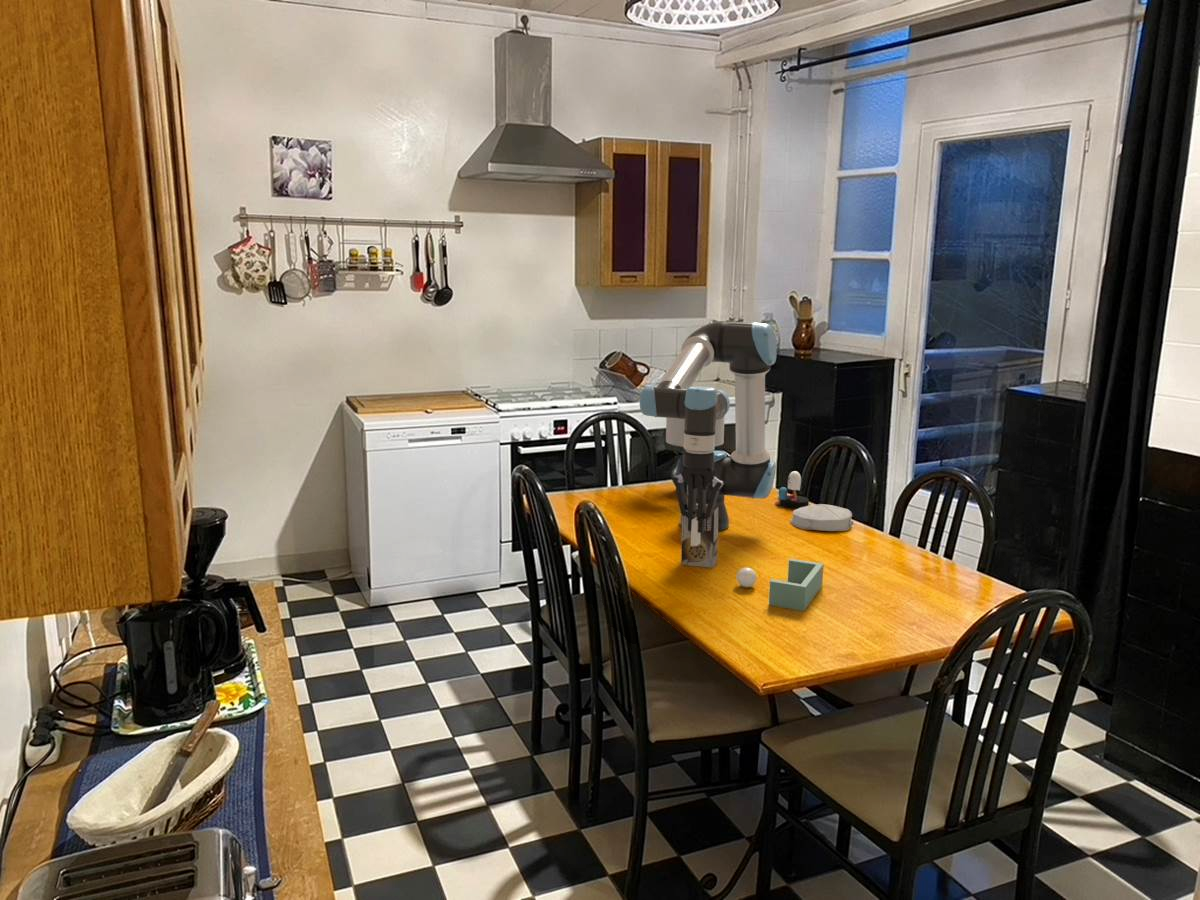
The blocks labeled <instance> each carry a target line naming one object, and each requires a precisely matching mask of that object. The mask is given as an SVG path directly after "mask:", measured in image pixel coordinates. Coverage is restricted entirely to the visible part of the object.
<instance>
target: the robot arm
mask: <svg viewBox="0 0 1200 900" xmlns="http://www.w3.org/2000/svg"><path fill="white" fill-rule="evenodd" d="M680 351H681V352H680V354H679V355H678V356H677V358H676V359H675V360H674V362H673V364H672V365H671V366H670V368H669V369H668V370H667V372H666V373H665V375H664V376H663V377H662V379H661V380H660V382H659V384H658V385H657V386H656V387H655V386H646V387H644V388H642V391H641V392H640V396H639V410H640V412H641V413H642V414H643V415H644V416H648V417H654V418H665V419H666V418H680V419H685V423H684V447H683V449H684V451H683V453H682V455H683V469H682V471H681V474H679V475H677V476H676V475H675V476H673V477H671V481H672V483H673V484H674V487H675V491H676V496H677V502H678V505H679V511H680V522H679V523H680V526H681V527H682V516H686V517H687V518H688V531H691V546H697V545H699V544H700V535H701V533H702V532H703V531H704V525H705V519H708V518H710V517H711V516H712V515H713V512H714V508H715V505H719V523H718V532H720V531H721V532H722V531H725V530H727V529H729V528H730V517H729V514H728V511H727V507H726V504H725V496H731V497H738V498H739V497H740V498H747V499H753V500H755V499H761V500H762V499H763V500H764V499H767V498H768V497H769V496H770V494H771V491H772V488H773V486H774V481H775V476H776V471H777V465H776V463H777V462H776V461H773V460H771V454H770V452H769V451H767V450H766V432H765V431H766V374H767V373H769V371H770V370H771V366H772V365H774V364H775V363H776V361H777V355H778V354H777V351H778V347H777V338H776V333H775V330H774V329H773V327H772V326H771V325H770V324H768V323H761V322H756V321H752V322H751V321H750V322H749V321H724V320H723V321H715V322H711V323H708V324H705V325H703V326H702V327H699V328H698V329H696V330H694V331H693V332H692V333H690V334H689V336H687V337H686V339H685V340H684V342H683V343H682V346H681V350H680ZM711 363H729V372H730V373H732V374H733V375H734V399H735V400H734V401H735V402H734V403H735V405H734V409H735V410H734V411H735V415H734V417H735V420H734V421H735V450H733V452H731V454H730V457H728V456H727V455H728V454H727V452H726V451H723V450H716V449H715V447H716V446H715V426H716V420H718V419H721V418H722V417H724V415H725V416H726V414H727V413H728V412H729V410H730V406H731V403H730V398H729V396H728V395H727V394H725V393H724V392H723V391H724V390H722V391H721V389H716V388H714V387H711V386H700V385H699V386H698V385H697V386H693V384H694V383H695V381H696V380H697V378H698V377H699V375H700V374H701V373H702V371H703V369H704V367H707V366H709V365H710V364H711ZM683 479H684V480H685V482H686V483H687V493H685V489H684V484H683ZM687 503H688V504H687ZM696 503H698V518H696V517H695V516H696V515H697V514H696ZM706 504H708V506H707V509H706Z"/></svg>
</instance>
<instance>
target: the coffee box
mask: <svg viewBox="0 0 1200 900" xmlns="http://www.w3.org/2000/svg"><path fill="white" fill-rule="evenodd" d="M687 504H688V503H687ZM707 506H708V504H706V509H707ZM696 514H697V515H696V516H695V517H696V518H698V503H696ZM718 523H719V505H715V508H714V512H713V515H712V516H711V517H710V518H708V519H705V525H704V531H703V532H702V533H701V535H700V544H699V545H697V546H691V531H688V518H687V517H686V516H682V526H681V555H680V556H681V557H680V558H681V559H680V560H681V561H680V565H682V566H692V567H702V568H710V569H713V568H714V567H716V565H717V563H718V559H719V558H718V555H719V554H718V552H719V550H718V549H719V531H718Z"/></svg>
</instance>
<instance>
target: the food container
mask: <svg viewBox="0 0 1200 900" xmlns="http://www.w3.org/2000/svg"><path fill="white" fill-rule="evenodd" d="M852 517H853V512H852V511H851V510H849V509H848V508H844V507H842V506H841V507H840V506H837V505H832V504H824V503H818V504H812V505H811V504H809V505H808V506H805V507H801V508H798V509H793V511H792V518H791V519H790V520H789V521H790V523H791V525H792V526H794V527H796V528H799V529H801V530H805V531H806V530H814V531H821V532H823V531H824V532H825V531H826V532H845V531H848V530H851V528H853V527H854V526H855V523H854V521H853V520H852Z"/></svg>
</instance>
